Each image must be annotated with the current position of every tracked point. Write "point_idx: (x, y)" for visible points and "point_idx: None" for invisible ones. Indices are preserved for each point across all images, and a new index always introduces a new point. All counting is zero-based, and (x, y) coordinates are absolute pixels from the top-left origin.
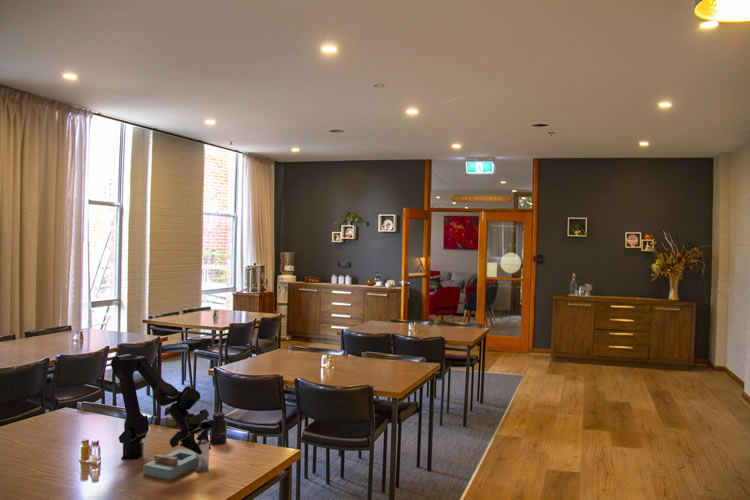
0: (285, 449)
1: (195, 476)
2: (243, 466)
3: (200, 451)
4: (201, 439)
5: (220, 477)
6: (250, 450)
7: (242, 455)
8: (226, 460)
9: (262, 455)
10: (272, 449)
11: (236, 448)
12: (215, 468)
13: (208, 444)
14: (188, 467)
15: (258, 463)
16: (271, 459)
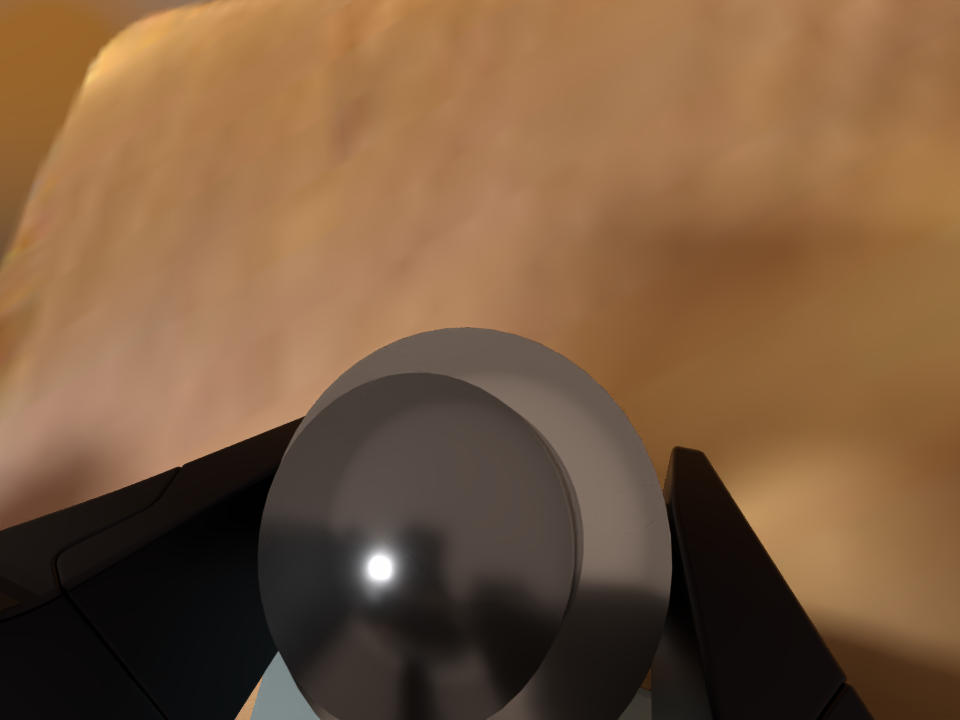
0: (93, 93)
1: (785, 495)
2: (399, 165)
3: (707, 472)
4: (308, 640)
5: (710, 202)
6: (87, 297)
7: (177, 302)
8: (282, 378)
9: (181, 163)
10: (85, 164)
11: (38, 429)
12: None
13: (461, 335)
14: (636, 705)
15: (327, 100)
16: (250, 67)
